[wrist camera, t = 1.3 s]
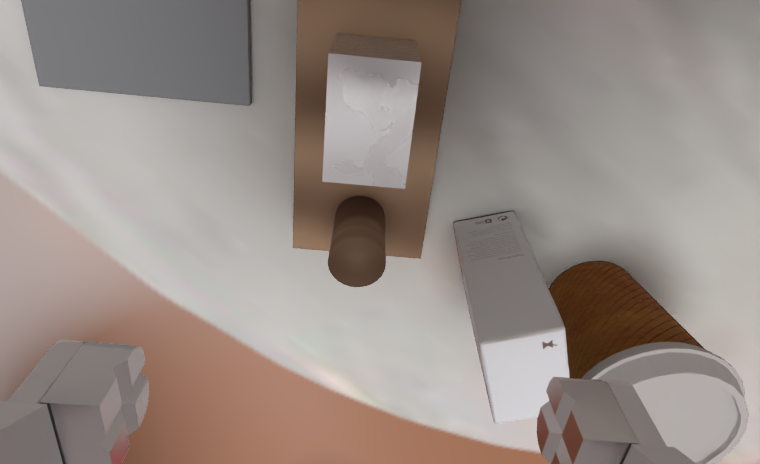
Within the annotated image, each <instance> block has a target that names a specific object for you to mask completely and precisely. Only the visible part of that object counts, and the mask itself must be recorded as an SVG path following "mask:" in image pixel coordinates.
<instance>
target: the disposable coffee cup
mask: <svg viewBox="0 0 760 464" xmlns="http://www.w3.org/2000/svg"><path fill="white" fill-rule="evenodd" d="M549 291H550V294H551V296H552V298H553V300H554V302H555V305H556V307H557V309H558V312H559V314H560V316H561V319H562V321H563V324H564V326H565V331H566V343H567V355H568V366H569V374H570V378H580V379H595V380H617V381H628V382H629V383H630V384H632V385H633V387H634V389H635V391H636V392H637V394H638V396H639V398H640V399H641V401H642V403H643V405H644V406H645V408H646V410H647V412H648V414H649V415H650V417H651V419H652V421H653V422H654V424H655V426H656V428H657V429H658V431H659V433H660V435H661V437H662V438H663V440H664V442H665V444H666V445H667V447H675V448H676V449H678V450H679V451H680V452H682V453H683V454H684V455H686V456H687V457H688V458H690V459H691V460H692V461H694V462H695V463H696V464H715V463H717V462H718V461H720V460H721V459H722V458H724V457H725V456H726V455H727V454H728V453H729V452H730V451H731V450H732V449H733V448H734V447H735V446H736V445H737V444H738V443H739V441H740V439H741V437H742V436H743V434H744V432H745V431H746V427H747V422H748V417H749V412H748V409H747V405H746V401H745V398H744V397H745V391H744V386H743V381H742V380H741V378H740V376H739V375H738V373H737V372H736V370H735V369H734V368H733V367H732V366H731V365H730V364H729V363H727V362H726V361H725V360H724V359H722V358H721V357H719V356H717V355H715V354H713V353H711V352H709V351H707V350H706V349H704V348H703V347H702V346H701V345H700V344H699V343H698V342H697V341H696V340H695V339H694V338H693V337H692V336H691V335H690V334H689V333H688V332H687V331H686V330H685V329H684V328H683V327H682V326H681V325H680V324H679V323H678V322H677V321H676V320H675V319H674V318H673V317H672V316H671V315H670V314H669V313H668V312H667V311H666V310H665V309H664V308H663V307H662V306H661V305H660V304H659V303H658V302H657V301H656V300H655V299H654V298H653V297H652V296H651V295H650V294H649V293H648V292H647V291H646V290H645V289H644V288H643V287H642V286H641V285H640V284H638V283H637V282H636V281H635V280H634V279H633V278H632V277H631V276H630V275H629V274H628V273H627V272H626V271H625V270H624V269H623V268H621V267H619V266H617V265H615V264H612V263H609V262H600V261H598V262H588V263H583V264H580V265H577V266H575V267H572V268H571V269H569V270H567V271H565V272H564V273H563V274H562V275H560V276H559V277H558V278H557V279H556V280H555V281H554V283H553V284H552V285H551V287H550V289H549Z"/></svg>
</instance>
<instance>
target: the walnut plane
mask: <svg viewBox="0 0 760 464" xmlns="http://www.w3.org/2000/svg"><path fill="white" fill-rule="evenodd" d="M460 5H461V0H298V11H297V62H296V114H295V165H294V216H293V248H300V249H312V250H324V251H330V252H329V258H328V266H329V270H330V272H331V274H332V275H333V276H334V277H335V279H337V280H338V281H339V282H341V283H343V284H345V285H348V286H352V287H363V286H367V285H370V284H372V283H374V282H375V281H377V280H378V279H379V278H380V277H381V276H382V274H383V272H384V270H385V264H386V256H396V257H408V258H421V253H422V247H423V240H424V234H425V228H426V221H427V215H428V209H429V202H430V196H431V189H432V183H433V177H434V170H435V164H436V158H437V151H438V145H439V139H440V132H441V126H442V120H443V113H444V107H445V101H446V94H447V88H448V82H449V75H450V69H451V62H452V56H453V50H454V43H455V37H456V31H457V24H458V18H459V12H460ZM337 32H338V33H348V34H358V35H368V36H378V37H388V38H397V39H407V40H415V41H416V44H417V48H418V51H419V55H420V58H421V62H422V64H421V71H420V79H419V86H418V94H417V102H416V109H415V117H414V125H413V132H412V140H411V148H410V155H409V163H408V171H407V178H406V186H405V189H400V188H389V187H378V186H367V185H355V184H344V183H333V182H322V177H323V156H324V134H325V113H326V92H327V71H328V53H329V50H330V48H331V45H332V43H333V41H334V38H335V36H336V33H337Z"/></svg>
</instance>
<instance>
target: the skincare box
mask: <svg viewBox="0 0 760 464" xmlns="http://www.w3.org/2000/svg"><path fill="white" fill-rule="evenodd" d="M453 227H454V232H455V238H456V243H457V249H458V255H459V261H460V267H461V272H462V277H463V283H464V288H465V294H466V298H467V303H468V308H469V313H470V318H471V322H472V327H473V332H474V336H475V341H476V346H477V350H478V354H479V359H480V363H481V368H482V372H483V377H484V381H485V385H486V390H487V394H488V399H489V403H490V408H491V412H492V416H493V421H494V423H495V424H499V423H506V422H513V421H519V420H526V419H533V418H538V415H539V412H540V408H541V407H542V406H543V405H544V404H546V403H547V402H548V401H550V400H549V398H548V395H547V392H546V390H547V387H548V384H549V382H550V380H551V379H552V378H553V377H565V378H570V374H569V366H568V355H567V343H566V331H565V326H564V324H563V321H562V319H561V316H560V314H559V312H558V309H557V307H556V305H555V302H554V300H553V298H552V296H551V294H550V291H549V289H548V287H547V285H546V282H545V280H544V278H543V275H542V273H541V271H540V269H539V266H538V264H537V262H536V260H535V257H534V255H533V253H532V250H531V248H530V246H529V243H528V241H527V239H526V237H525V234H524V232H523V230H522V227H521V225H520V223H519V221H518V218H517V216H516V214H515V212H506V213H501V214H496V215H491V216H486V217H480V218H475V219H470V220H464V221H459V222H455V223H454V224H453Z"/></svg>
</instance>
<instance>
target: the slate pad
mask: <svg viewBox="0 0 760 464" xmlns="http://www.w3.org/2000/svg"><path fill="white" fill-rule="evenodd" d="M21 2H22V6H23V11H24V16H25V20H26V25H27V30H28V34H29V39H30V44H31V49H32V53H33V58H34V63H35V67H36V72H37V77H38V81H39V86H44V87H55V88H65V89H76V90H86V91H97V92H108V93H118V94H129V95H139V96H150V97H161V98H171V99H182V100H192V101H203V102H214V103H224V104H235V105H245V106H250V105H251V103H252V94H251V47H250V0H21Z"/></svg>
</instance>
